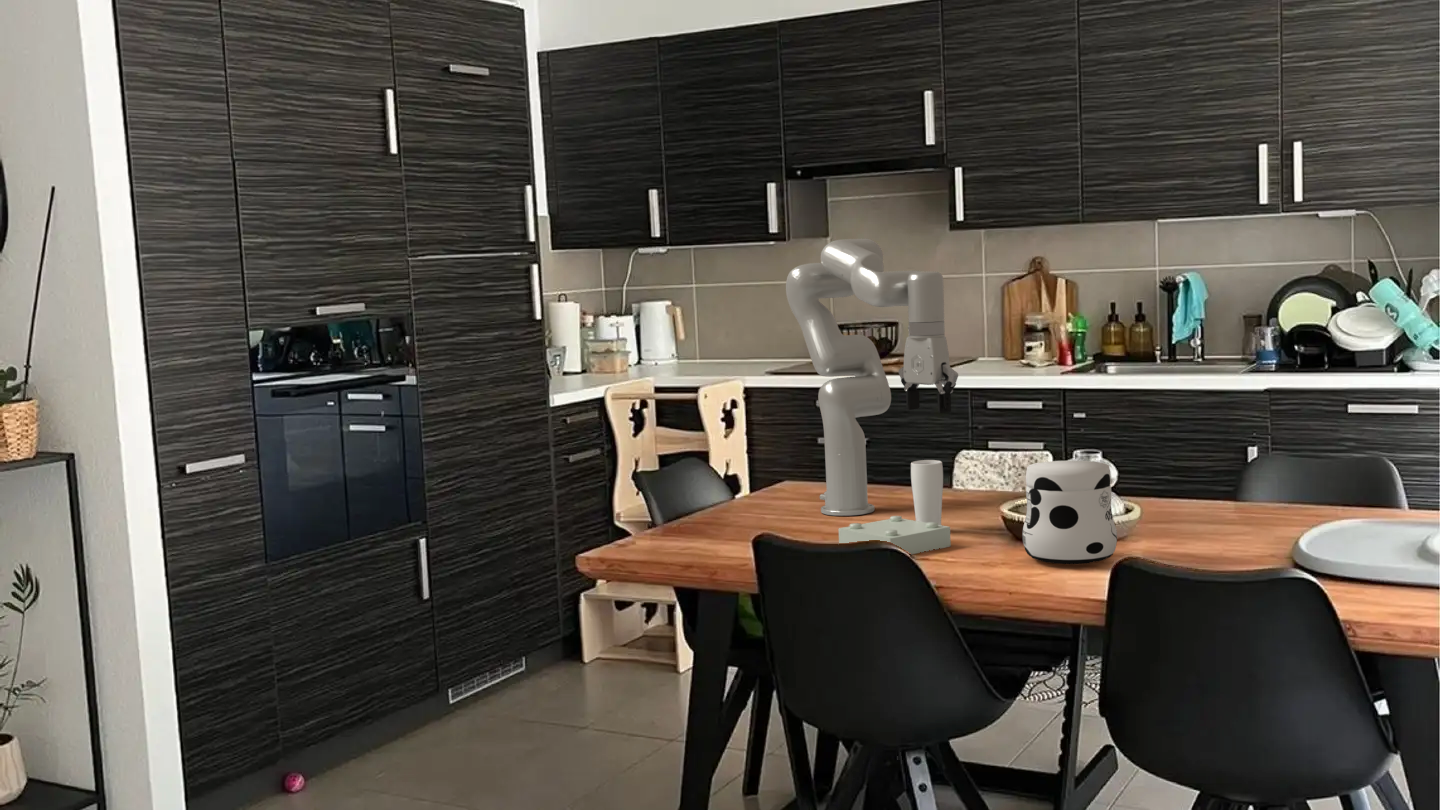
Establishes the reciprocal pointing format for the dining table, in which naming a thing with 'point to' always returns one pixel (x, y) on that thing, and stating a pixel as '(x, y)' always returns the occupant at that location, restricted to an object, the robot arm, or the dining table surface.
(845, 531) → the brick riser
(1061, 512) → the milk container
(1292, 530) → the dining table surface
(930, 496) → the drinking glass
